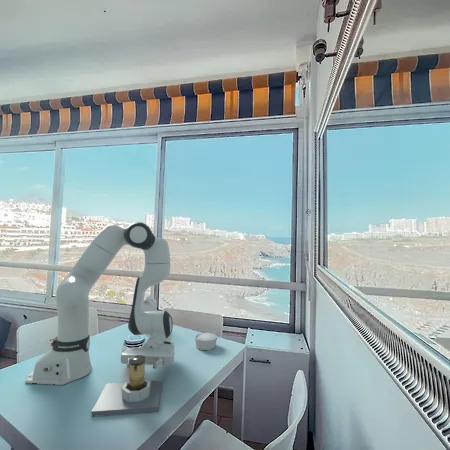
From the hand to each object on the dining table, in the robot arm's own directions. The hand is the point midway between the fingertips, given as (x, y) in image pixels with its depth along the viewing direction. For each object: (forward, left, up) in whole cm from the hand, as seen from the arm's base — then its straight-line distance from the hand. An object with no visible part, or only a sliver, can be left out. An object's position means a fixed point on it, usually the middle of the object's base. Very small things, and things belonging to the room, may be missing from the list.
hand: (141, 366), depth 101 cm
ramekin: (+26, +36, -9) cm, 45 cm away
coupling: (-1, -5, -7) cm, 9 cm away
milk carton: (-6, +66, -9) cm, 67 cm away
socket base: (-3, -5, -9) cm, 10 cm away
